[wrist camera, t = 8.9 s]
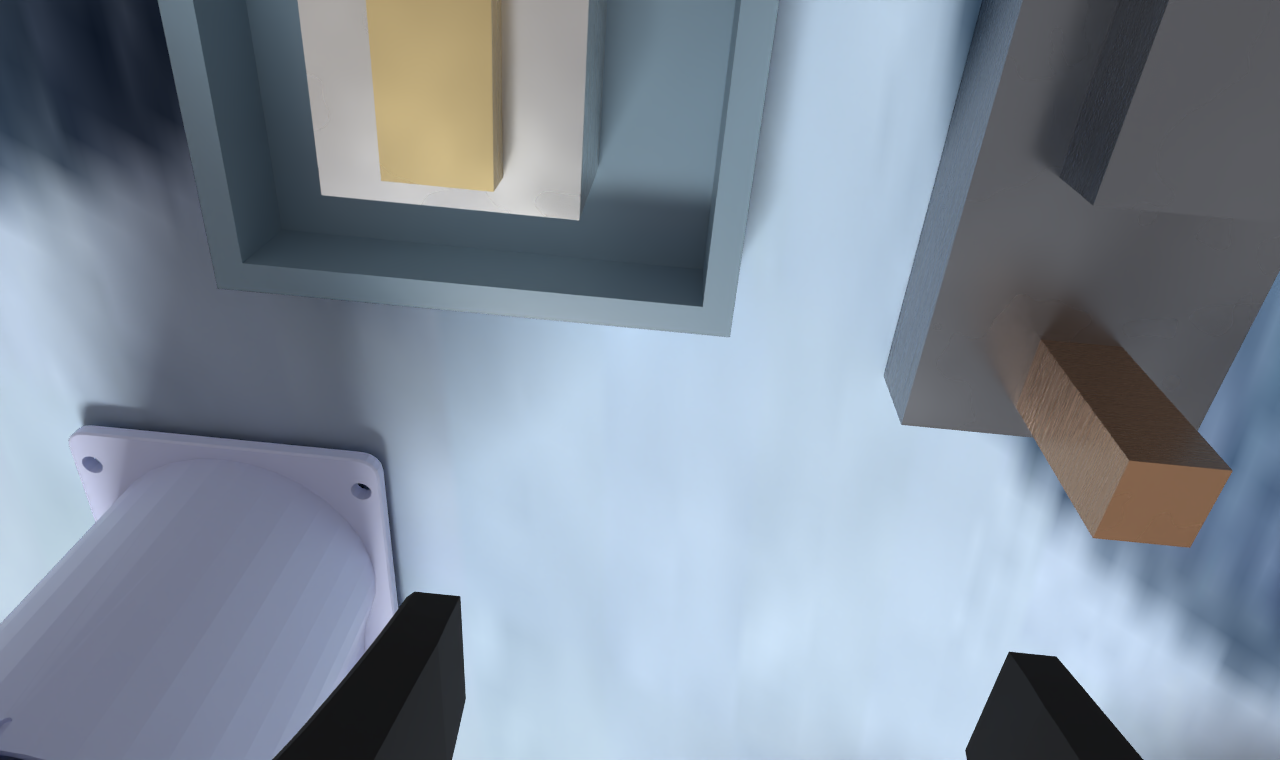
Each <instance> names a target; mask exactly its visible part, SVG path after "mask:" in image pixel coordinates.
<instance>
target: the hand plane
mask: <svg viewBox="0 0 1280 760" xmlns="http://www.w3.org/2000/svg"><path fill="white" fill-rule="evenodd" d="M1279 271H1280V0H983V2H982V5H981V9H980V13H979V17H978V21H977V24H976V28H975V32H974V36H973V40H972V43H971V47H970V51H969V55H968V59H967V62H966V66H965V70H964V74H963V78H962V81H961V85H960V89H959V93H958V97H957V100H956V104H955V108H954V112H953V116H952V119H951V123H950V127H949V131H948V135H947V138H946V142H945V146H944V150H943V154H942V157H941V161H940V165H939V169H938V173H937V176H936V180H935V184H934V188H933V192H932V195H931V199H930V203H929V207H928V211H927V214H926V218H925V222H924V226H923V230H922V233H921V237H920V241H919V245H918V249H917V252H916V256H915V260H914V264H913V267H912V271H911V275H910V279H909V283H908V286H907V290H906V294H905V298H904V302H903V305H902V309H901V313H900V317H899V321H898V324H897V328H896V332H895V336H894V340H893V343H892V347H891V351H890V355H889V359H888V362H887V366H886V370H885V374H884V378H885V381H886V384H887V386H888V389H889V392H890V395H891V398H892V400H893V403H894V406H895V409H896V411H897V414H898V417H899V420H900V422H901V425H910V426H920V427H930V428H941V429H951V430H961V431H972V432H982V433H992V434H1003V435H1013V436H1023V437H1034V439H1035V441H1036V442H1037V444H1038V446H1039V447H1040V449H1041V451H1042V452H1043V454H1044V456H1045V458H1046V459H1047V461H1048V463H1049V464H1050V466H1051V468H1052V469H1053V471H1054V473H1055V475H1056V476H1057V478H1058V480H1059V481H1060V483H1061V485H1062V486H1063V488H1064V490H1065V491H1066V493H1067V495H1068V497H1069V498H1070V500H1071V502H1072V503H1073V505H1074V507H1075V508H1076V510H1077V512H1078V513H1079V515H1080V517H1081V519H1082V520H1083V522H1084V524H1085V525H1086V527H1087V529H1088V530H1089V532H1090V534H1091V536H1092V537H1093V538H1098V539H1108V540H1119V541H1129V542H1139V543H1149V544H1159V545H1169V546H1179V547H1191V545H1192V543H1193V541H1194V539H1195V538H1196V536H1197V534H1198V532H1199V530H1200V529H1201V527H1202V525H1203V523H1204V521H1205V520H1206V518H1207V516H1208V514H1209V512H1210V511H1211V509H1212V507H1213V505H1214V503H1215V502H1216V500H1217V498H1218V496H1219V494H1220V493H1221V491H1222V489H1223V487H1224V485H1225V484H1226V482H1227V480H1228V478H1229V476H1230V475H1231V473H1232V469H1231V468H1230V467H1229V466H1228V465H1227V464H1226V463H1225V462H1224V461H1223V459H1222V458H1221V457H1220V456H1219V455H1218V454H1217V453H1216V452H1215V450H1214V449H1213V448H1212V447H1211V446H1210V445H1209V444H1208V443H1207V441H1206V440H1205V439H1204V438H1203V437H1202V436H1201V435H1200V434H1199V432H1198V429H1199V427H1200V425H1201V423H1202V421H1203V419H1204V417H1205V415H1206V413H1207V411H1208V409H1209V407H1210V405H1211V404H1212V402H1213V400H1214V398H1215V396H1216V394H1217V392H1218V390H1219V388H1220V386H1221V384H1222V382H1223V380H1224V378H1225V376H1226V374H1227V372H1228V370H1229V368H1230V366H1231V364H1232V362H1233V361H1234V359H1235V357H1236V355H1237V353H1238V351H1239V349H1240V347H1241V345H1242V343H1243V341H1244V339H1245V337H1246V335H1247V333H1248V331H1249V329H1250V327H1251V325H1252V323H1253V321H1254V320H1255V318H1256V316H1257V314H1258V312H1259V310H1260V308H1261V306H1262V304H1263V302H1264V300H1265V298H1266V296H1267V294H1268V292H1269V290H1270V288H1271V286H1272V284H1273V282H1274V280H1275V278H1276V277H1277V275H1278V273H1279Z"/></svg>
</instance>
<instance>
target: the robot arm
mask: <svg viewBox="0 0 1280 760" xmlns="http://www.w3.org/2000/svg"><path fill="white" fill-rule="evenodd" d="M69 447H70V450H71V453H72V456H73V459H74V461H75V464H76V467H77V470H78V473H79V476H80V479H81V482H82V484H83V487H84V490H85V493H86V496H87V499H88V502H89V505H90V508H91V510H92V513H93V516H94V519H95V522H96V523H95V524H94V525H93V526H92V527H91V528H90V529H89V530H88V531H87V532H86V533H85V534H84V535H83V536H82V538H81V539H80V540H79V541H78V542H77V543H76V544H75V545H74V546H73V547H72V548H71V549H70V550H69V551H68V552H67V553H66V555H65V556H64V557H63V558H62V559H61V560H60V561H59V562H58V563H57V564H56V565H55V566H54V567H53V568H52V569H51V571H50V572H49V573H48V574H47V575H46V576H45V577H44V578H43V579H42V580H41V581H40V582H39V583H38V584H37V585H36V586H35V588H34V589H33V590H32V591H31V592H30V593H29V594H28V595H27V596H26V597H25V598H24V599H23V600H22V601H21V602H20V604H19V605H18V606H17V607H16V608H15V609H14V610H13V611H12V612H11V613H10V614H9V615H8V616H7V617H6V618H5V619H4V621H3V622H2V623H1V624H0V760H452V757H453V753H454V748H455V744H456V740H457V735H458V731H459V726H460V722H461V717H462V713H463V708H464V704H465V699H466V695H465V676H464V658H463V639H462V620H461V601H460V596H452V595H442V594H432V593H422V592H414V593H412V594H411V595H409V596H408V597H406V599H405V600H404V602H403V603H402V604H401V606H400V607H399V608H398V601H397V592H396V583H395V573H394V564H393V555H392V546H391V536H390V527H389V518H388V509H387V499H386V490H385V481H384V472H383V467H382V464H381V463H380V462H379V460H378V459H377V458H376V457H374V456H372V455H371V454H368V453H364V452H357V451H347V450H337V449H327V448H317V447H307V446H296V445H286V444H276V443H266V442H256V441H246V440H235V439H225V438H215V437H205V436H195V435H185V434H174V433H164V432H154V431H144V430H134V429H124V428H113V427H103V426H93V425H87V426H82V427H81V428H79V429H78V430H76V431H75V432H74V433H73V434H72V435H71V436H70V438H69ZM94 458H96V459H97V460H99V461H100V462H101V463H100V462H98V461H97V460H95V459H94ZM358 483H361V484H364V485H366V486H368V487H369V488H370V490H366V489H363V488H361V487H360V486H359V485H358ZM965 751H966V757H967V760H1143V759H1142V758H1141V756H1140V755H1139V754H1138V753H1137V752H1136V750H1135V749H1134V748H1133V747H1132V746H1131V745H1130V743H1129V742H1128V741H1127V740H1126V739H1125V737H1124V736H1123V735H1122V734H1121V733H1120V732H1119V730H1118V729H1117V728H1116V727H1115V726H1114V724H1113V723H1112V722H1111V721H1110V720H1109V718H1108V717H1107V716H1106V715H1105V714H1104V713H1103V711H1102V710H1101V709H1100V708H1099V707H1098V705H1097V704H1096V703H1095V702H1094V701H1093V699H1092V698H1091V697H1090V696H1089V695H1088V693H1087V692H1086V691H1085V690H1084V689H1083V687H1082V686H1081V685H1080V684H1079V683H1078V682H1077V680H1076V679H1075V678H1074V677H1073V676H1072V674H1071V673H1070V672H1069V671H1068V670H1067V669H1066V667H1065V666H1064V665H1063V664H1062V663H1061V662H1060V660H1059V659H1058V658H1057V657H1055V656H1045V655H1035V654H1026V653H1016V652H1009V653H1008V655H1007V657H1006V660H1005V662H1004V664H1003V666H1002V669H1001V671H1000V673H999V675H998V678H997V680H996V682H995V684H994V687H993V689H992V691H991V693H990V696H989V698H988V700H987V702H986V705H985V707H984V709H983V711H982V714H981V716H980V718H979V721H978V723H977V725H976V727H975V730H974V732H973V734H972V736H971V739H970V741H969V743H968V745H967V748H966V750H965Z"/></svg>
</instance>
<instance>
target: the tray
mask: <svg viewBox="0 0 1280 760" xmlns="http://www.w3.org/2000/svg"><path fill="white" fill-rule="evenodd" d="M158 4H159V9H160V14H161V18H162V23H163V28H164V33H165V38H166V42H167V47H168V52H169V57H170V62H171V66H172V71H173V76H174V81H175V86H176V90H177V95H178V100H179V105H180V110H181V115H182V119H183V124H184V129H185V134H186V139H187V143H188V148H189V153H190V158H191V163H192V167H193V172H194V177H195V182H196V187H197V191H198V196H199V201H200V206H201V211H202V216H203V220H204V225H205V230H206V235H207V240H208V244H209V249H210V254H211V259H212V264H213V268H214V273H215V278H216V283H217V288H218V289H229V290H239V291H250V292H260V293H271V294H281V295H292V296H302V297H313V298H323V299H334V300H344V301H355V302H365V303H376V304H386V305H397V306H407V307H418V308H428V309H439V310H449V311H460V312H470V313H481V314H491V315H502V316H512V317H523V318H533V319H544V320H554V321H564V322H575V323H585V324H596V325H606V326H617V327H627V328H638V329H648V330H659V331H669V332H680V333H690V334H701V335H711V336H722V337H730V332H731V326H732V319H733V312H734V305H735V298H736V292H737V285H738V278H739V271H740V264H741V258H742V251H743V244H744V237H745V230H746V224H747V217H748V210H749V203H750V196H751V190H752V183H753V176H754V169H755V162H756V156H757V149H758V142H759V135H760V129H761V122H762V115H763V108H764V101H765V95H766V88H767V81H768V74H769V67H770V61H771V54H772V47H773V40H774V33H775V27H776V20H777V13H778V6H779V0H607V14H606V33H605V52H604V70H603V89H602V108H601V127H600V145H599V164H598V170H597V173H596V175H595V178H594V181H593V184H592V187H591V189H590V192H589V195H588V198H587V201H586V203H585V206H584V209H583V212H582V215H581V217H580V220H570V219H560V218H550V217H539V216H529V215H519V214H509V213H499V212H488V211H478V210H468V209H458V208H448V207H438V206H427V205H417V204H407V203H397V202H387V201H376V200H366V199H356V198H346V197H336V196H325V195H321V187H320V179H319V171H318V162H317V154H316V146H315V138H314V130H313V122H312V114H311V106H310V98H309V90H308V82H307V73H306V65H305V57H304V49H303V41H302V33H301V25H300V17H299V9H298V1H297V0H158Z"/></svg>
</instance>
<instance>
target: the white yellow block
mask: <svg viewBox="0 0 1280 760" xmlns="http://www.w3.org/2000/svg"><path fill="white" fill-rule="evenodd" d="M297 1H298V9H299V17H300V25H301V33H302V41H303V49H304V57H305V65H306V73H307V82H308V90H309V98H310V106H311V114H312V122H313V130H314V138H315V146H316V154H317V162H318V171H319V179H320V187H321V195H325V196H336V197H346V198H356V199H366V200H376V201H387V202H397V203H407V204H417V205H427V206H438V207H448V208H458V209H468V210H478V211H488V212H499V213H509V214H519V215H529V216H539V217H550V218H560V219H570V220H580V217H581V215H582V212H583V209H584V206H585V203H586V201H587V198H588V195H589V192H590V189H591V187H592V184H593V181H594V178H595V175H596V173H597V170H598V164H599V145H600V127H601V108H602V89H603V70H604V52H605V33H606V14H607V0H297Z"/></svg>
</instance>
